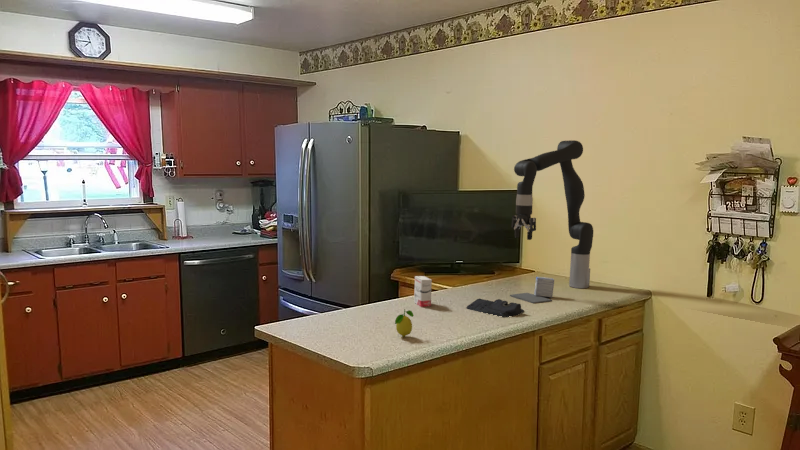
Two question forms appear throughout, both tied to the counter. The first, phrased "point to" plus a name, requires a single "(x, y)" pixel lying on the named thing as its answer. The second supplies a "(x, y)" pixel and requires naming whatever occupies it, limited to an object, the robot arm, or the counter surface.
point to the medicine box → (544, 286)
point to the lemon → (404, 323)
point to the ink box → (422, 291)
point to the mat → (530, 298)
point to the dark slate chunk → (496, 307)
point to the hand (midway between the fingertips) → (523, 238)
